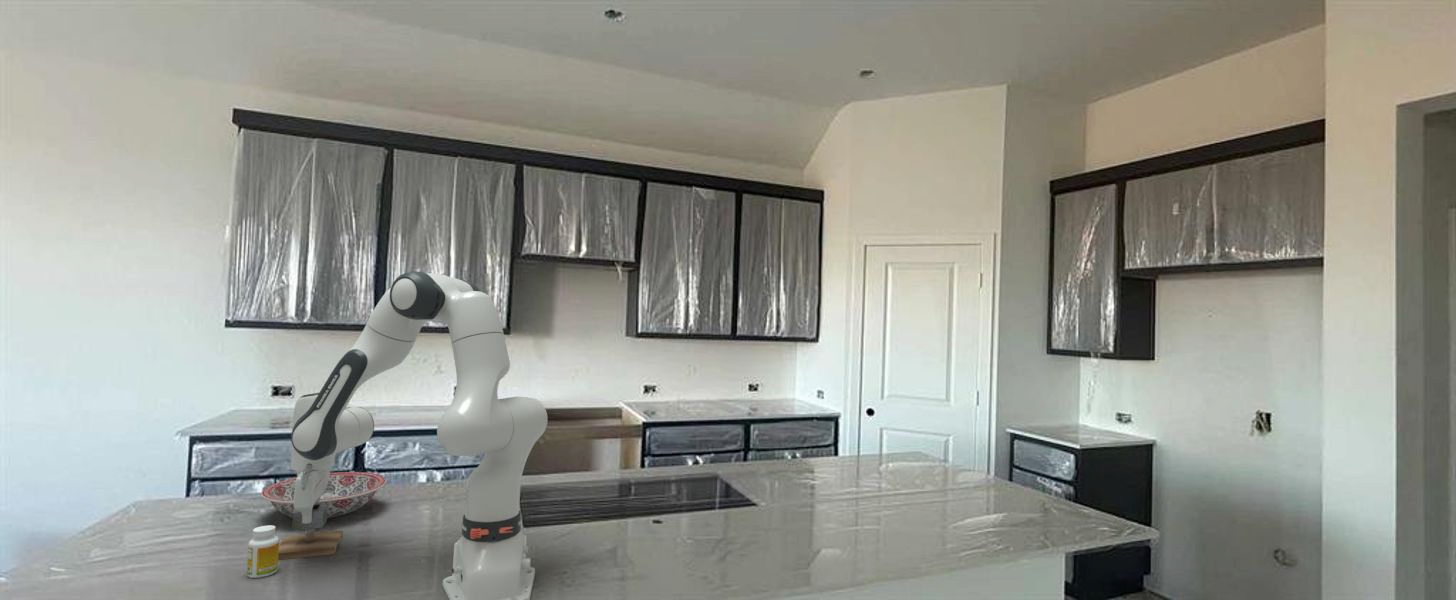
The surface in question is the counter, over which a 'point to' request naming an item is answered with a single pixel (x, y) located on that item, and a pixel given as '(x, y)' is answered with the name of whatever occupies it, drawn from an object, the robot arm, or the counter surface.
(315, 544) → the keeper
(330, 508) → the ceramic bowl
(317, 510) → the grey square block
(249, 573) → the supplement bottle
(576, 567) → the counter surface
